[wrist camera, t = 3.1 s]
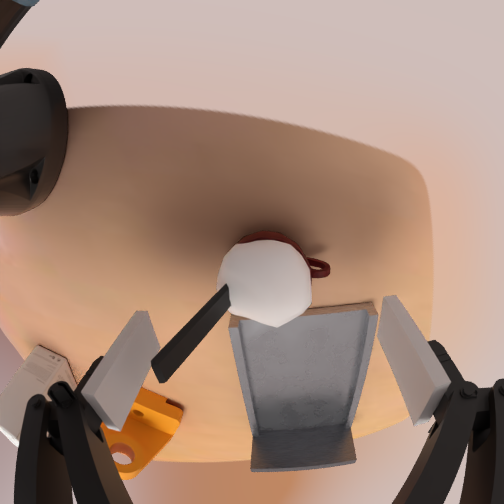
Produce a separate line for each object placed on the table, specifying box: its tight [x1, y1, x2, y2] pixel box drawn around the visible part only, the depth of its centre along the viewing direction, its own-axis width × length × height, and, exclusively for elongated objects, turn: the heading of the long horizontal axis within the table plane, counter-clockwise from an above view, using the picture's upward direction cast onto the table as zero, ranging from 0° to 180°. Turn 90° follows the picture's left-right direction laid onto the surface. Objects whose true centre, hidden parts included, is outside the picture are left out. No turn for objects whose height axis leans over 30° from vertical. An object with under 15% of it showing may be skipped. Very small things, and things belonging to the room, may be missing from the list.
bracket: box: [100, 387, 183, 480], centre depth 26 cm, size 11×7×12 cm, turn 65°
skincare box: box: [0, 345, 77, 447], centre depth 24 cm, size 8×7×16 cm
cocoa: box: [151, 230, 330, 383], centre depth 16 cm, size 10×6×12 cm, turn 74°
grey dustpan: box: [228, 302, 378, 472], centre depth 24 cm, size 20×13×7 cm, turn 6°
